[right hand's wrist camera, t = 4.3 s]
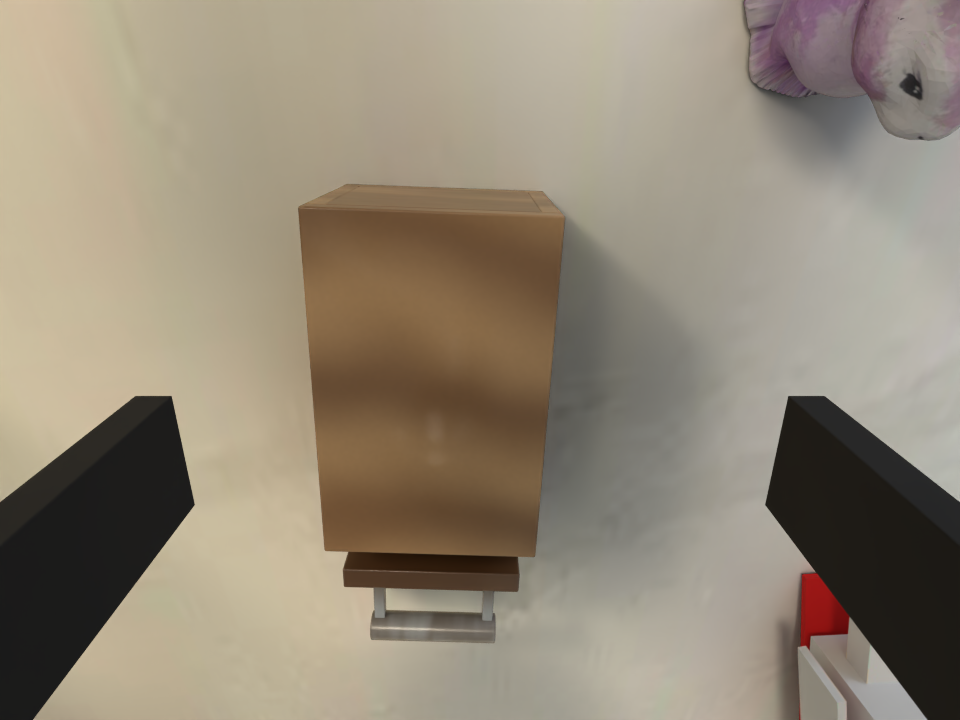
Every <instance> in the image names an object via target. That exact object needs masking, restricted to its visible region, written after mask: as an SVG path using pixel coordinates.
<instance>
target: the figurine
mask: <svg viewBox="0 0 960 720" xmlns="http://www.w3.org/2000/svg"><path fill="white" fill-rule="evenodd" d="M744 7H745V12H746V17H747V23H748V29H749V30H750V33H751V39H750V43H751V46H750V56H749V72H750V77H751V80H752V81H753V82H754V83H757V85H758V87H761V88H763V89H767V90H769V89H771V90H772V91H775V90H776V92H777V93H779V92H781V93H782V94H786V95H787V96H788V95H791V97H802V96H804V97H807V96H809V95H811V94H812V95H816V94H818V93H820V94H824V95H827V96H832V97H839V98H848V97H854V96H860V95H865V94H868V96H869V97H870V99H871V101H872V103H873V105H874V108H875V110H876V113H877V116H878V118H879V121H880V122H881V124H882V126H883V127H884V129H885V130H886V131H887V132H888V133H890V134H892V135H894V136H896V137H900V138H904V139H908V140H919V139H920V140H927V141H930V140H940V139H942V138H944V137H946V136H948V135H950V134H951V133H953V132H954V131H955V130H956V129H958V128H959V127H960V0H745V1H744Z"/></svg>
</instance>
